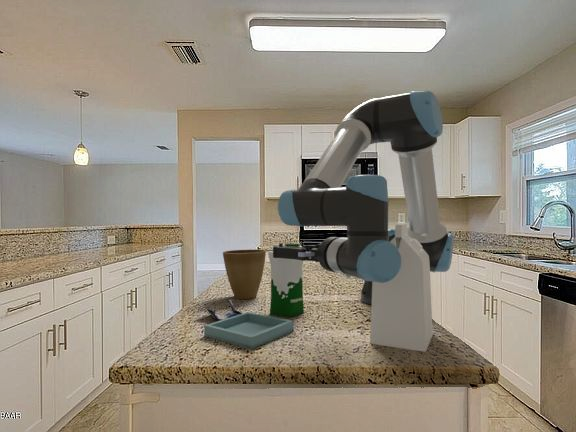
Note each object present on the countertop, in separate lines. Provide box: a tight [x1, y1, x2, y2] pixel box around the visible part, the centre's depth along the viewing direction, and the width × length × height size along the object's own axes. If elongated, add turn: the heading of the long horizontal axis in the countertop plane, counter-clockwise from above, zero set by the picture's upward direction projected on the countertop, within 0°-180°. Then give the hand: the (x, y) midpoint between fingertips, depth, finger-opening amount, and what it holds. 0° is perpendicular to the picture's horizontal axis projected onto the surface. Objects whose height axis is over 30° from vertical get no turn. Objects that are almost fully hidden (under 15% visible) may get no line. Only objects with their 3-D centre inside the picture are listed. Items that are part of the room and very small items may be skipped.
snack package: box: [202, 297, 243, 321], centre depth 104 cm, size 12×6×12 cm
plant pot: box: [222, 249, 267, 300], centre depth 131 cm, size 15×15×16 cm
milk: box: [369, 223, 434, 353], centre depth 85 cm, size 12×12×26 cm
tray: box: [203, 311, 294, 350], centre depth 90 cm, size 15×15×2 cm
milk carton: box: [267, 243, 305, 319], centre depth 109 cm, size 9×9×20 cm
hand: (298, 248), depth 99 cm, fingers open, 13 cm apart
